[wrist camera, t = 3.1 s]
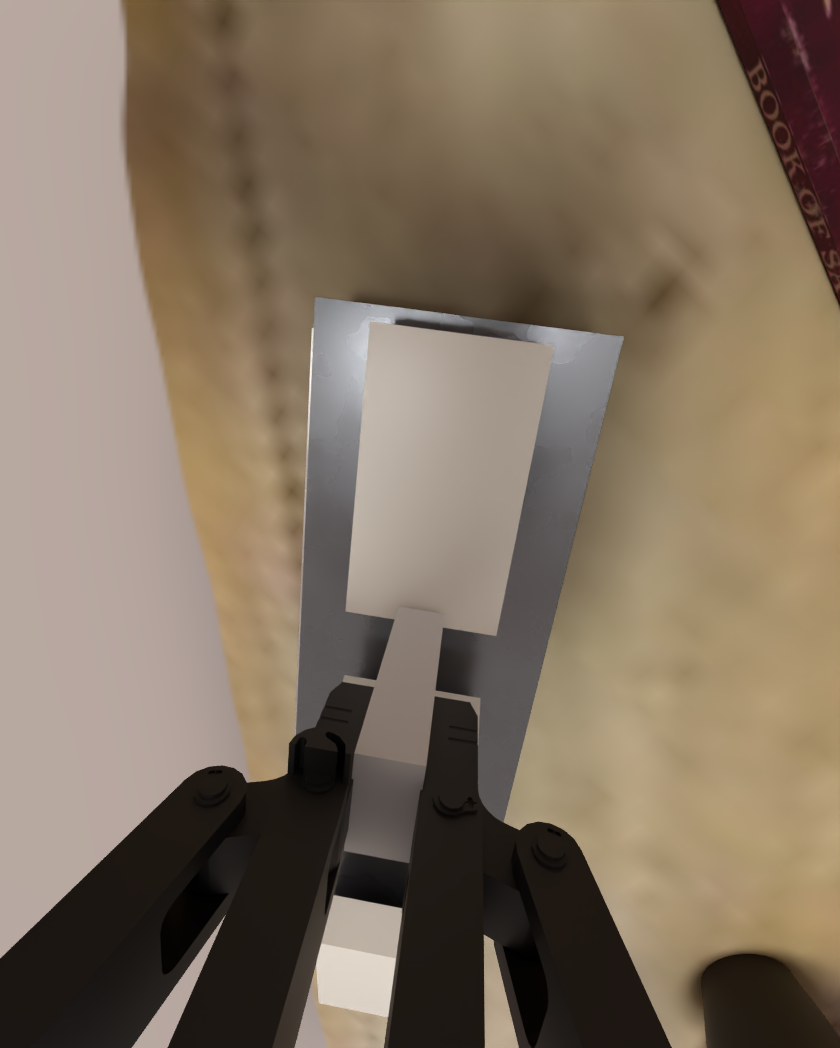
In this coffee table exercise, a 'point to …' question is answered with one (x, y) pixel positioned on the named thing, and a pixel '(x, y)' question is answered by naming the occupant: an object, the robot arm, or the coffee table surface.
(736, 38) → the book
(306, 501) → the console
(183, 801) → the robot arm
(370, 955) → the block
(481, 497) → the block
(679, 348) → the coffee table surface
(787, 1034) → the mug
